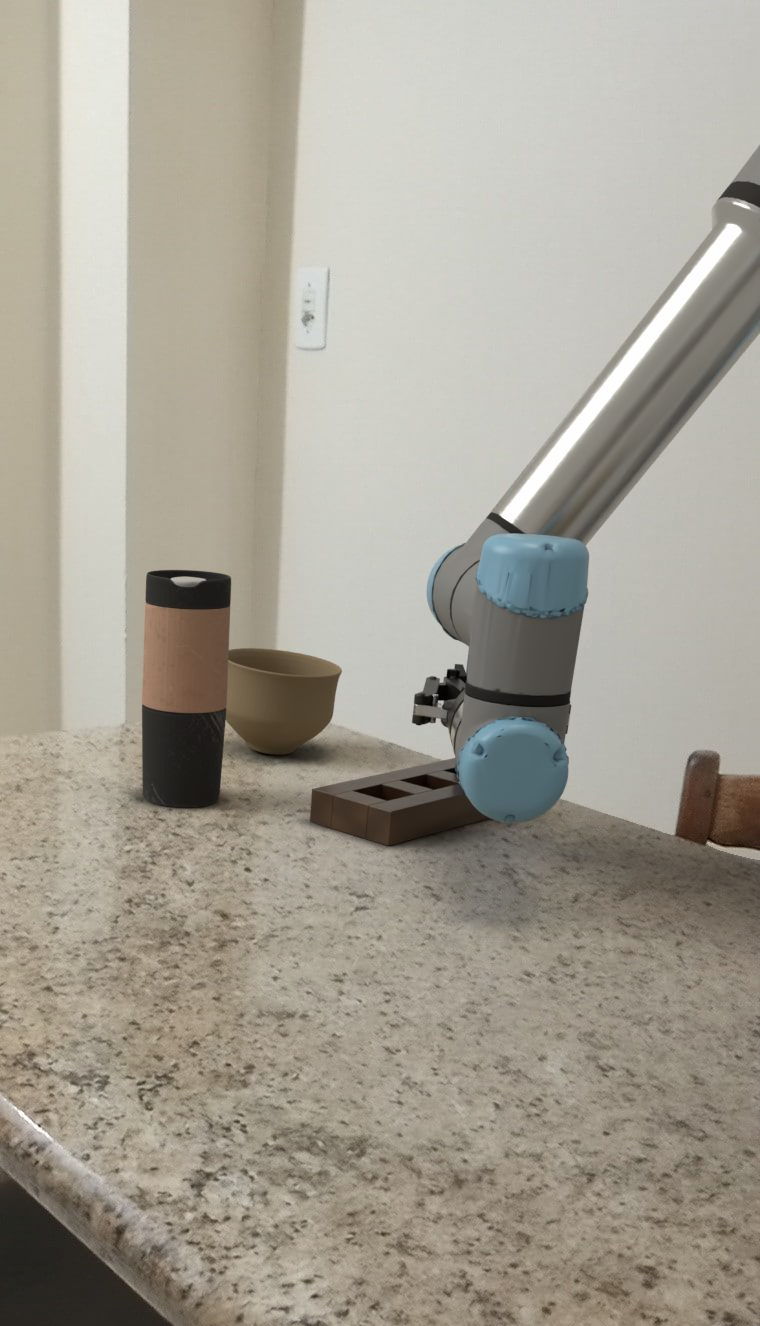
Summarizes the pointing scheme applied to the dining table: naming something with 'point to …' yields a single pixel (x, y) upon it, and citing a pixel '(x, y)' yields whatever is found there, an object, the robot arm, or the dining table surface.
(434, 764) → the rack
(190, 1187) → the dining table surface
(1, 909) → the dining table surface
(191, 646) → the travel mug
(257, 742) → the bowl
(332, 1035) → the dining table surface
